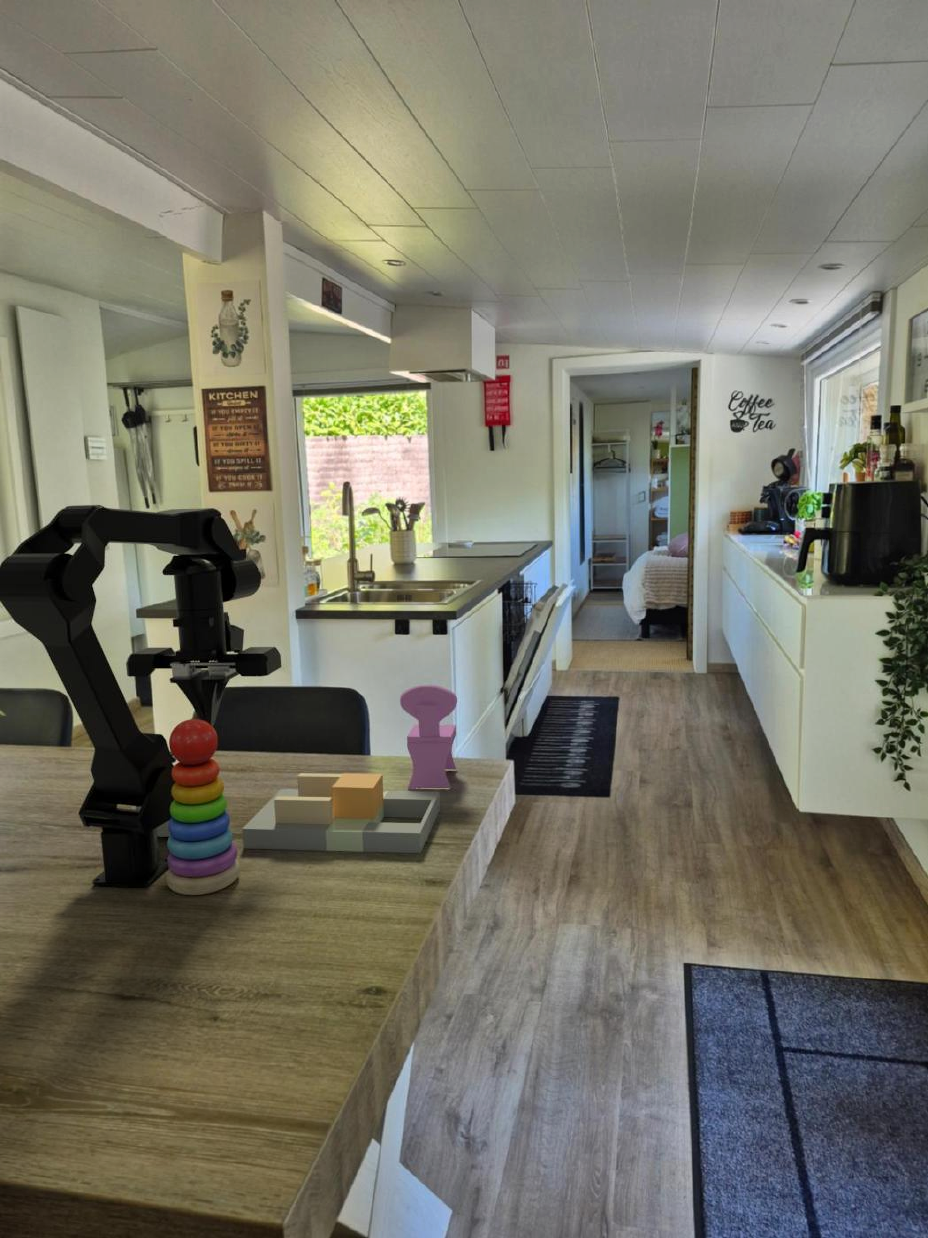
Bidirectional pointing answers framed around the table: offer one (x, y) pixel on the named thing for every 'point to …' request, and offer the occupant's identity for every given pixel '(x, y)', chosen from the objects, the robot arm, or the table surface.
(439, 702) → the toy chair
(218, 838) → the stacking toy
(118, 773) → the robot arm
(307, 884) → the table surface
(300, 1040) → the table surface
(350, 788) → the block
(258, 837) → the tunnel board
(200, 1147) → the table surface
